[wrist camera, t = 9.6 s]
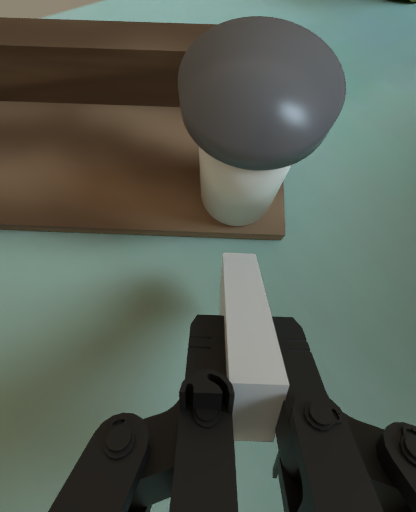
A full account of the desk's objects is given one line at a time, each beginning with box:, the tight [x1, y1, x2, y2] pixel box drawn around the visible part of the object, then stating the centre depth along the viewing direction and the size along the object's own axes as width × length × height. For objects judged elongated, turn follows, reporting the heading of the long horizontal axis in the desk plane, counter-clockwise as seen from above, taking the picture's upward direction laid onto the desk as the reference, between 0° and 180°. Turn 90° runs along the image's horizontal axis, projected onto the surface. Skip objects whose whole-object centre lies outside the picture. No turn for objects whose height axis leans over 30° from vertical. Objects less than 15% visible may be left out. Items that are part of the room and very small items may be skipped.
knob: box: [178, 16, 346, 226], centre depth 13 cm, size 6×6×8 cm
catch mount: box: [0, 18, 285, 240], centre depth 17 cm, size 11×26×5 cm, turn 88°
